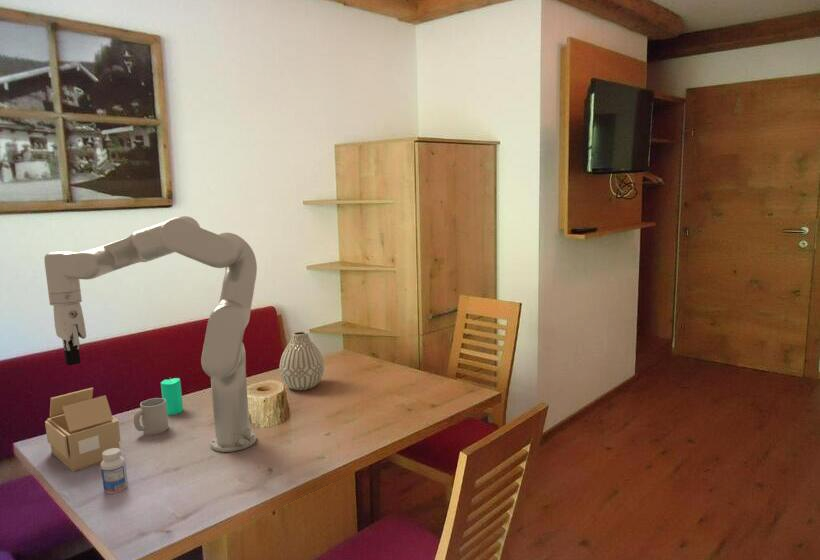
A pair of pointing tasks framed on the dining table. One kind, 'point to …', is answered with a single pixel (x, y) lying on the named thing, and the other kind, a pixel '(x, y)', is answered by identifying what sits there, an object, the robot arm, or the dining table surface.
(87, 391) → the long flap far
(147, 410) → the cup
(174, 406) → the candle
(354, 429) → the dining table surface
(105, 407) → the long flap near
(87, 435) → the carton
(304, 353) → the vase
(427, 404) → the dining table surface
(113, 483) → the pill bottle
